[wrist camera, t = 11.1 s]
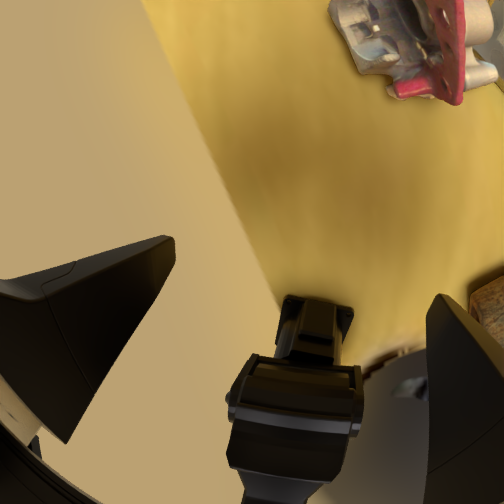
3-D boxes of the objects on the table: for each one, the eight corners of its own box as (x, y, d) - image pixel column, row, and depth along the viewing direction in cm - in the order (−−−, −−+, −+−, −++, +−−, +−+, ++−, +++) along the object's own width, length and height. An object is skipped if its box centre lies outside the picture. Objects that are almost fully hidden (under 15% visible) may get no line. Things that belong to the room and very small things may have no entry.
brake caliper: (267, -17, 12) (380, -129, 1) (375, -15, 14) (479, -62, 3) (345, 131, 16) (537, 113, 5) (432, 99, 18) (556, 90, 7)
